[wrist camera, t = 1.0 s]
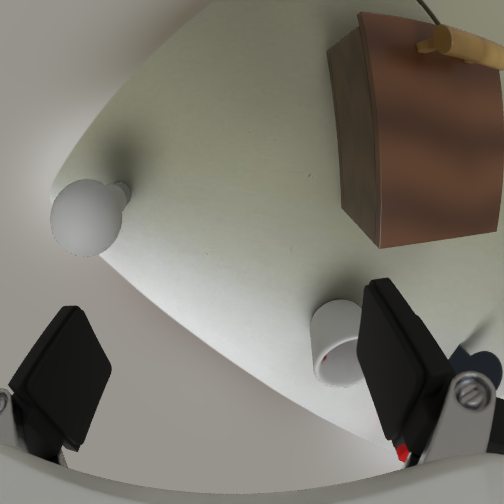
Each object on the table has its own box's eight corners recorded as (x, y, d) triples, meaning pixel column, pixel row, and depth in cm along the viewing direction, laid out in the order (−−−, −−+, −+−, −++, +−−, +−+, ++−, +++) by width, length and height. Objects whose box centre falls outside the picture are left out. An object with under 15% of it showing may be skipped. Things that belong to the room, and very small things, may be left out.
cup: (364, 347, 37) (382, 391, 30) (309, 361, 38) (318, 407, 30) (365, 283, 32) (390, 326, 25) (298, 298, 33) (310, 346, 26)
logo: (408, 391, 38) (447, 439, 29) (480, 301, 33) (529, 347, 23) (441, 381, 47) (472, 417, 38) (495, 312, 41) (531, 346, 32)
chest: (326, 51, 22) (358, 25, 14) (436, 61, 21) (490, 54, 13) (341, 208, 29) (374, 244, 21) (442, 199, 28) (491, 228, 20)
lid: (356, 14, 13) (388, -12, 9) (488, 44, 13) (530, 40, 8) (374, 244, 20) (405, 280, 16) (491, 228, 20) (527, 253, 15)
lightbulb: (92, 171, 26) (26, 201, 16) (142, 156, 26) (87, 181, 16) (106, 224, 29) (52, 274, 19) (156, 214, 29) (113, 266, 19)
